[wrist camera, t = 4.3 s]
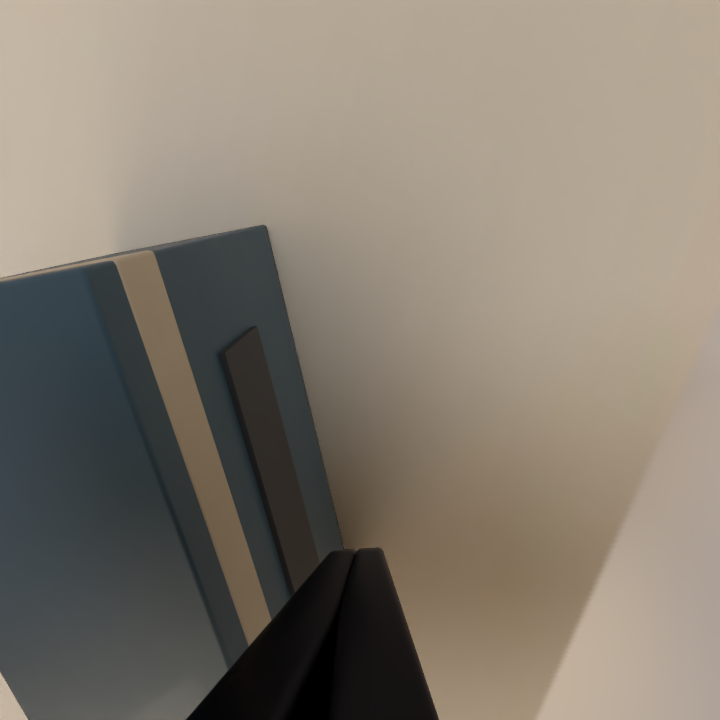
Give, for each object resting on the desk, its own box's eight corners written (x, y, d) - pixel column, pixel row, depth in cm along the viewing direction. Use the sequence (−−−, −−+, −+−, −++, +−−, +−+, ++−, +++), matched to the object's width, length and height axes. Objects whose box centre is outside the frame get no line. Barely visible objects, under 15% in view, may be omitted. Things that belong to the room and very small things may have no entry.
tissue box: (110, 253, 13) (-210, 321, 6) (271, 222, 12) (90, 263, 6) (222, 572, 16) (88, 827, 10) (352, 565, 16) (300, 839, 9)
